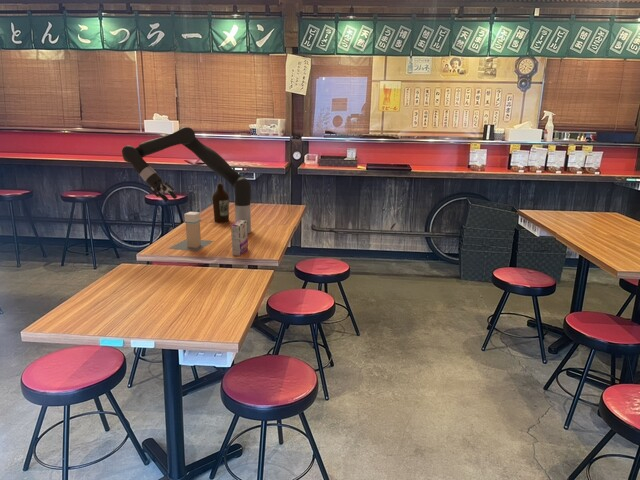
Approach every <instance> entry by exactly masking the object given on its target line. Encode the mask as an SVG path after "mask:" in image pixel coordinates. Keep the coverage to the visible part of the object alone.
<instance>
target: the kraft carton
mask: <svg viewBox="0 0 640 480" xmlns="http://www.w3.org/2000/svg"><path fill="white" fill-rule="evenodd" d="M185 233H186V239H187V247H192V248H197V247H199V246H201V240H202V235H201V233H202V232H201V222H199V223H197V224H187V223H185Z"/></svg>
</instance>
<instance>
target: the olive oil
mask: <svg viewBox="0 0 640 480" xmlns="http://www.w3.org/2000/svg"><path fill="white" fill-rule="evenodd" d="M223 184H224V183H222V182H218V183H217V189H216V191H215V192H214V193H213V194H212V197H211V198H212V207H213V218H214V222H215V223H227V222H229V220H230V218H229V217H230V196H229V194H228V193H227V191H225V190H224V188H223V187H224V186H223Z"/></svg>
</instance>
